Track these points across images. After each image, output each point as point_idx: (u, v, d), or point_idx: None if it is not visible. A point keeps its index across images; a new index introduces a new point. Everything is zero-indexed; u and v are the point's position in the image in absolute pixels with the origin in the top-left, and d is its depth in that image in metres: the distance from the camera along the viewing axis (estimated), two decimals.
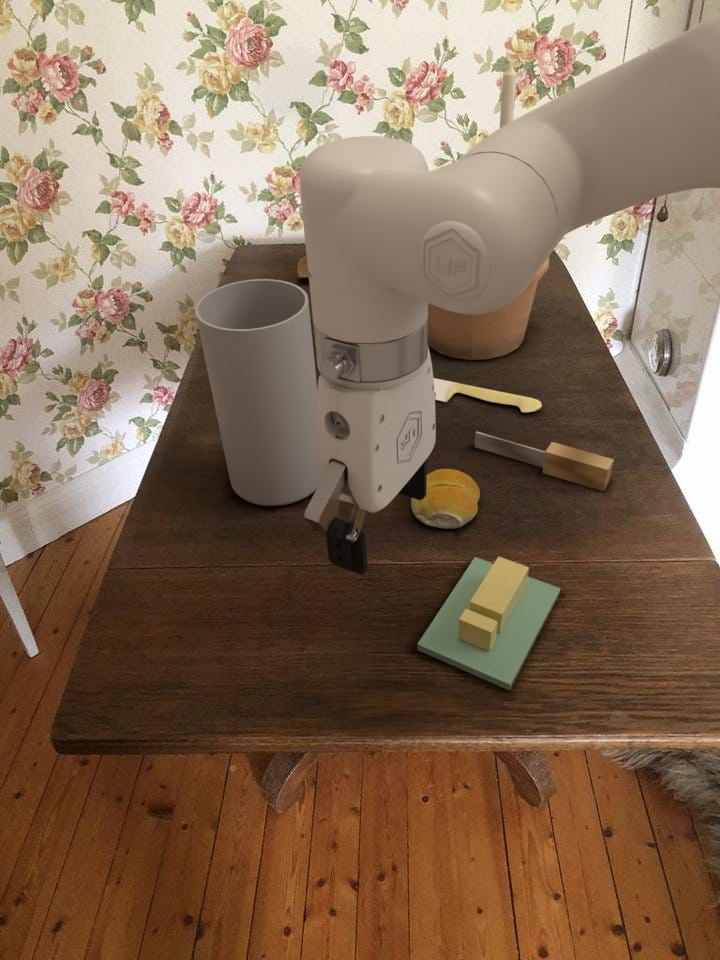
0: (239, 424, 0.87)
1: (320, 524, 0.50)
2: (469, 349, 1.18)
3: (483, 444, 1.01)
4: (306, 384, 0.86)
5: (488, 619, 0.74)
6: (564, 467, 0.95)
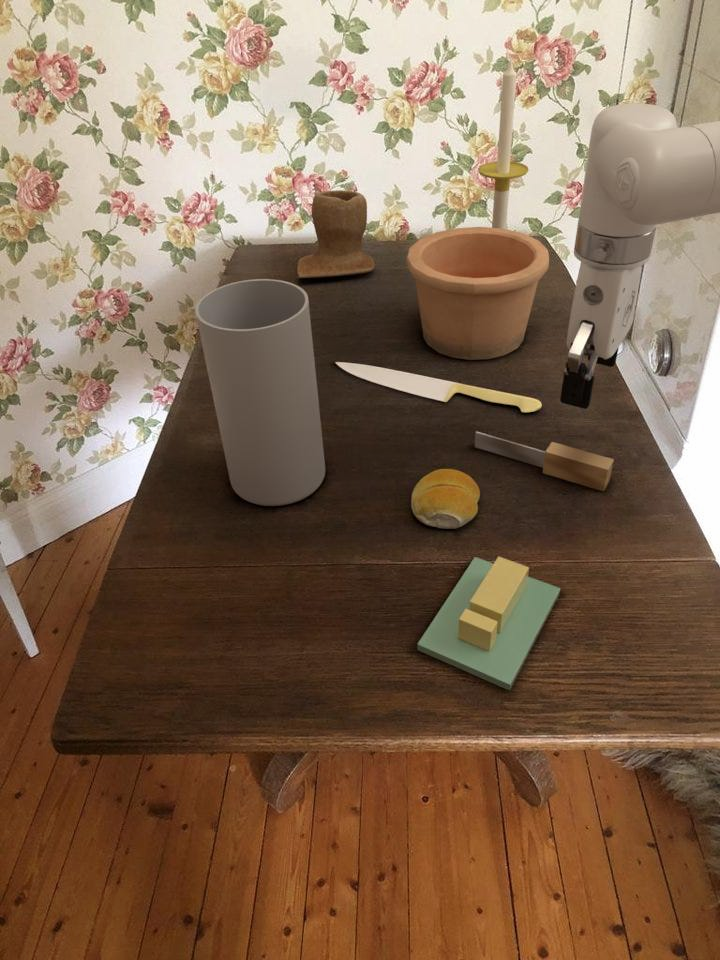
0: (239, 424, 0.87)
1: (578, 362, 0.77)
2: (469, 349, 1.18)
3: (483, 444, 1.01)
4: (306, 384, 0.86)
5: (488, 619, 0.74)
6: (564, 467, 0.95)
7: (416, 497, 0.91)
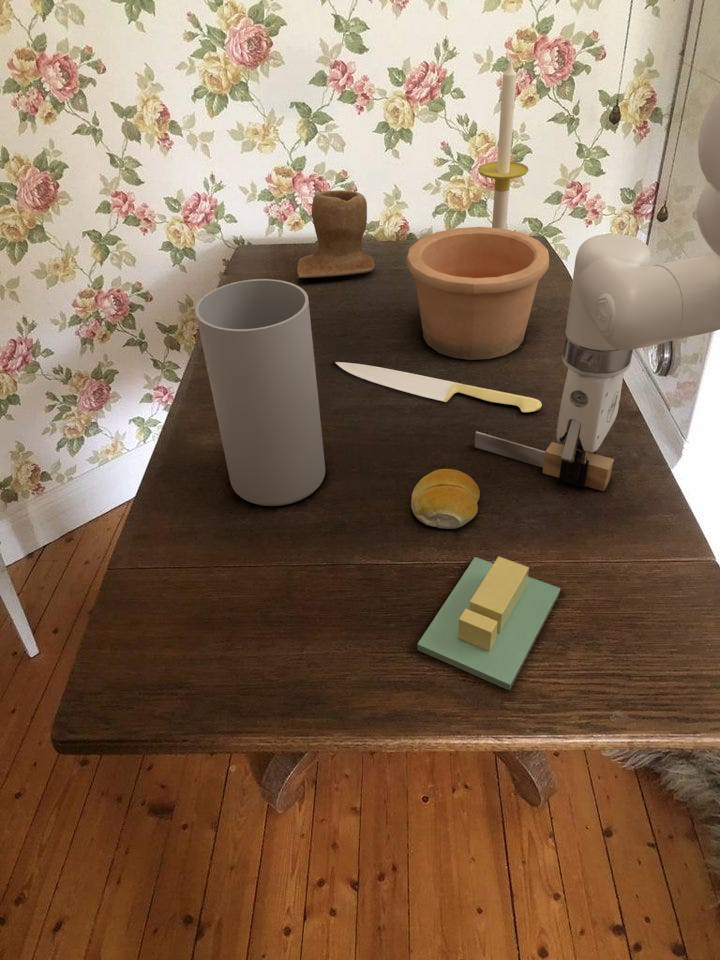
0: (239, 424, 0.87)
1: (571, 462, 0.88)
2: (469, 349, 1.18)
3: (483, 444, 1.01)
4: (306, 384, 0.86)
5: (488, 619, 0.74)
6: None
7: (416, 497, 0.91)
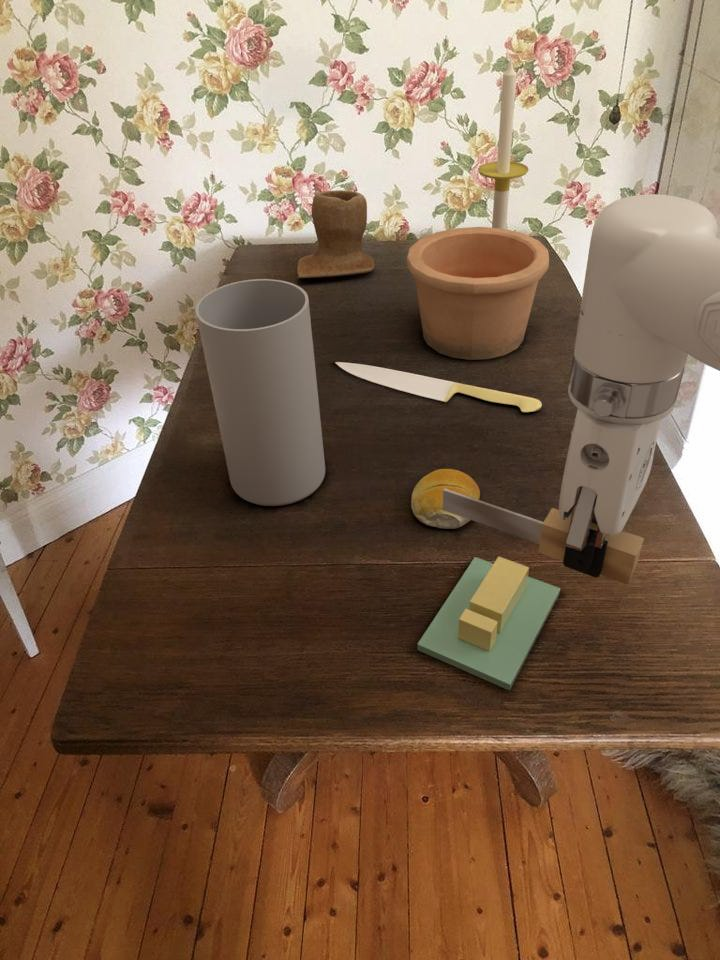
0: (239, 424, 0.87)
1: (581, 549, 0.58)
2: (469, 349, 1.18)
3: (454, 506, 0.71)
4: (306, 384, 0.86)
5: (488, 619, 0.74)
6: None
7: (416, 497, 0.91)
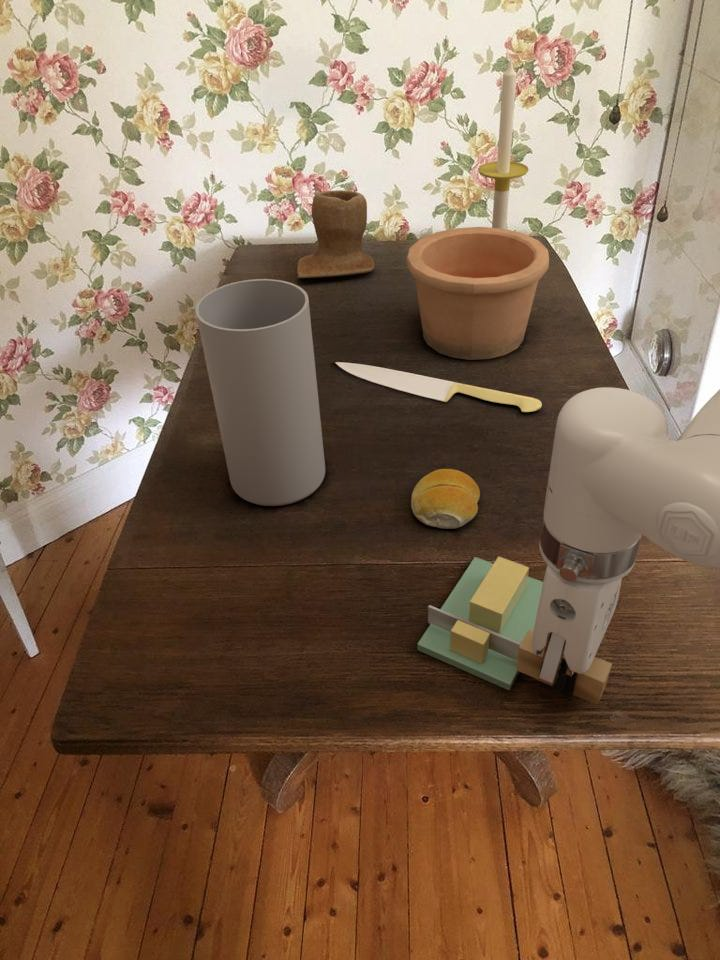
0: (239, 424, 0.87)
1: (553, 684, 0.63)
2: (469, 349, 1.18)
3: (439, 621, 0.76)
4: (306, 384, 0.86)
5: (480, 631, 0.73)
6: None
7: (416, 497, 0.91)
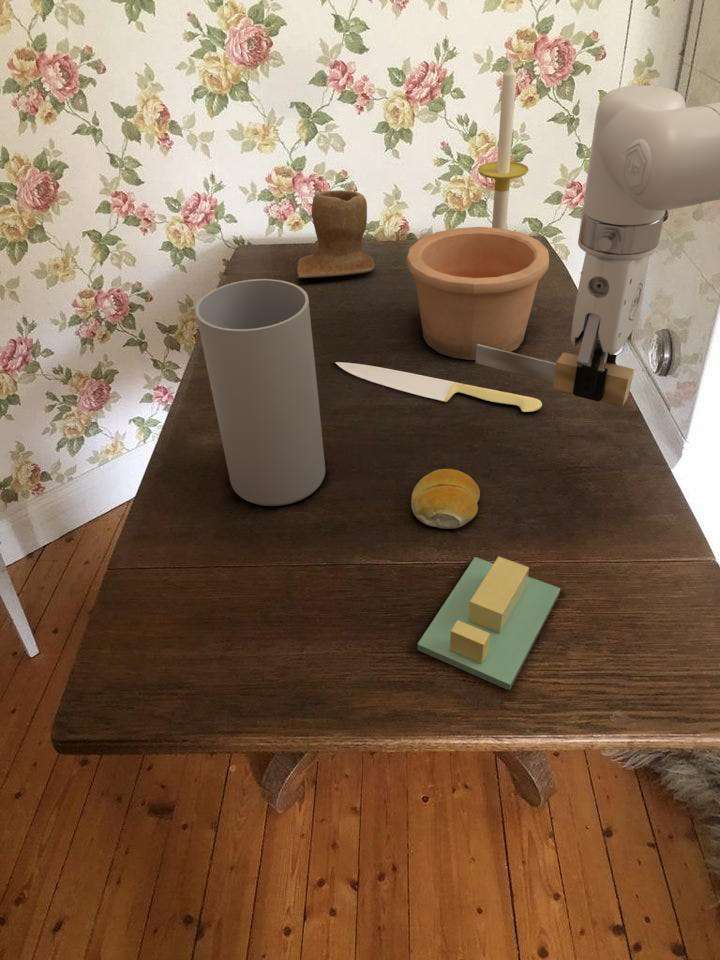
0: (239, 424, 0.87)
1: (588, 366, 0.77)
2: (469, 349, 1.18)
3: (485, 359, 0.90)
4: (306, 384, 0.86)
5: (480, 631, 0.73)
6: None
7: (416, 497, 0.91)
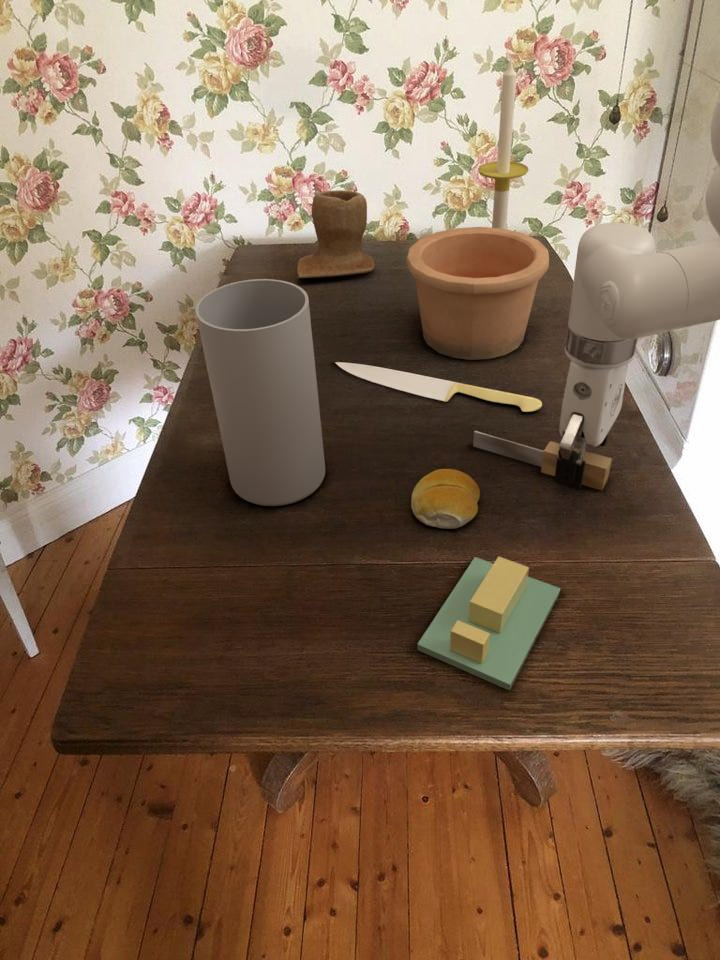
0: (239, 424, 0.87)
1: (569, 451, 0.83)
2: (469, 349, 1.18)
3: (481, 443, 1.01)
4: (306, 384, 0.86)
5: (480, 631, 0.73)
6: None
7: (416, 497, 0.91)
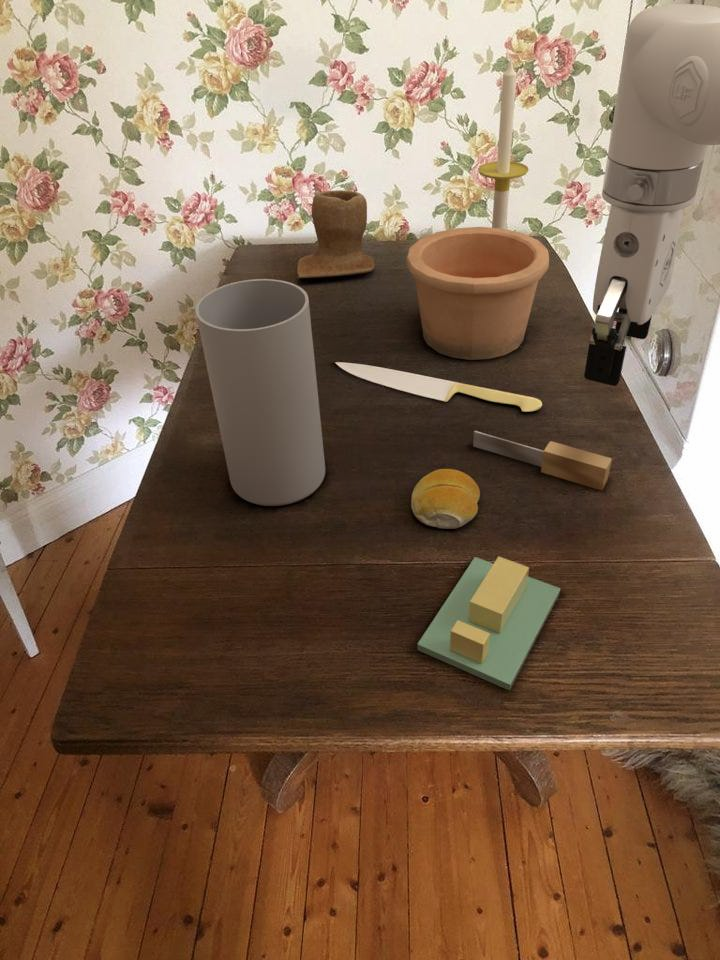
0: (239, 424, 0.87)
1: (608, 326, 0.63)
2: (469, 349, 1.18)
3: (481, 443, 1.01)
4: (306, 384, 0.86)
5: (480, 631, 0.73)
6: (562, 466, 0.95)
7: (416, 497, 0.91)
